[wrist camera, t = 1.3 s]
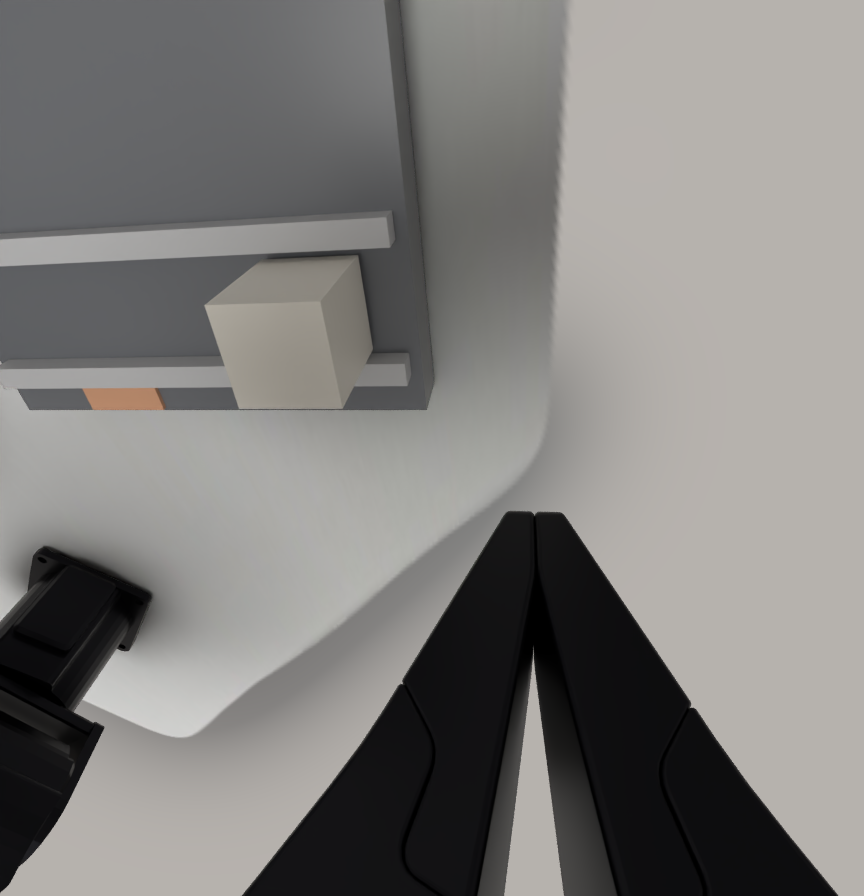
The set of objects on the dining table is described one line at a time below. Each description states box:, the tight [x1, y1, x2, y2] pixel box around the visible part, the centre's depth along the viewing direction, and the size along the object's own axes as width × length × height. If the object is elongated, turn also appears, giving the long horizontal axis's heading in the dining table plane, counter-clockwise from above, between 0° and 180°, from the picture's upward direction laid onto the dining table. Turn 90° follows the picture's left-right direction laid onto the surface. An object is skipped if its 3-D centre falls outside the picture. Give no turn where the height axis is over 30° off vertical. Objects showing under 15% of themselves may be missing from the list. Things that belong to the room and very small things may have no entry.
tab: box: [204, 255, 373, 409], centre depth 16 cm, size 3×3×4 cm
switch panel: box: [0, 0, 434, 410], centre depth 15 cm, size 20×16×3 cm
